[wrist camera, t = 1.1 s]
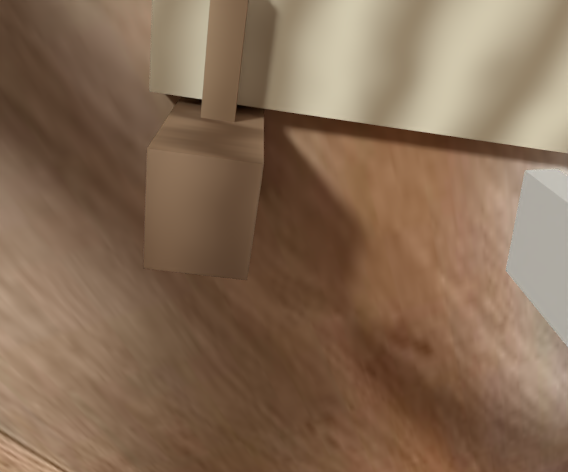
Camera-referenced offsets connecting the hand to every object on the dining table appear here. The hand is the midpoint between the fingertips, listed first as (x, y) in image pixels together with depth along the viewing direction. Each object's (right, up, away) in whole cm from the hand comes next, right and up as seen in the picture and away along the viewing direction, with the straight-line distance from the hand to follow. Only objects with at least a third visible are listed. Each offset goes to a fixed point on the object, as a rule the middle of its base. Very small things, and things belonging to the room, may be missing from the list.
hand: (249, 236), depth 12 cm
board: (+7, +12, +17) cm, 22 cm away
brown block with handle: (-3, +9, +18) cm, 20 cm away
